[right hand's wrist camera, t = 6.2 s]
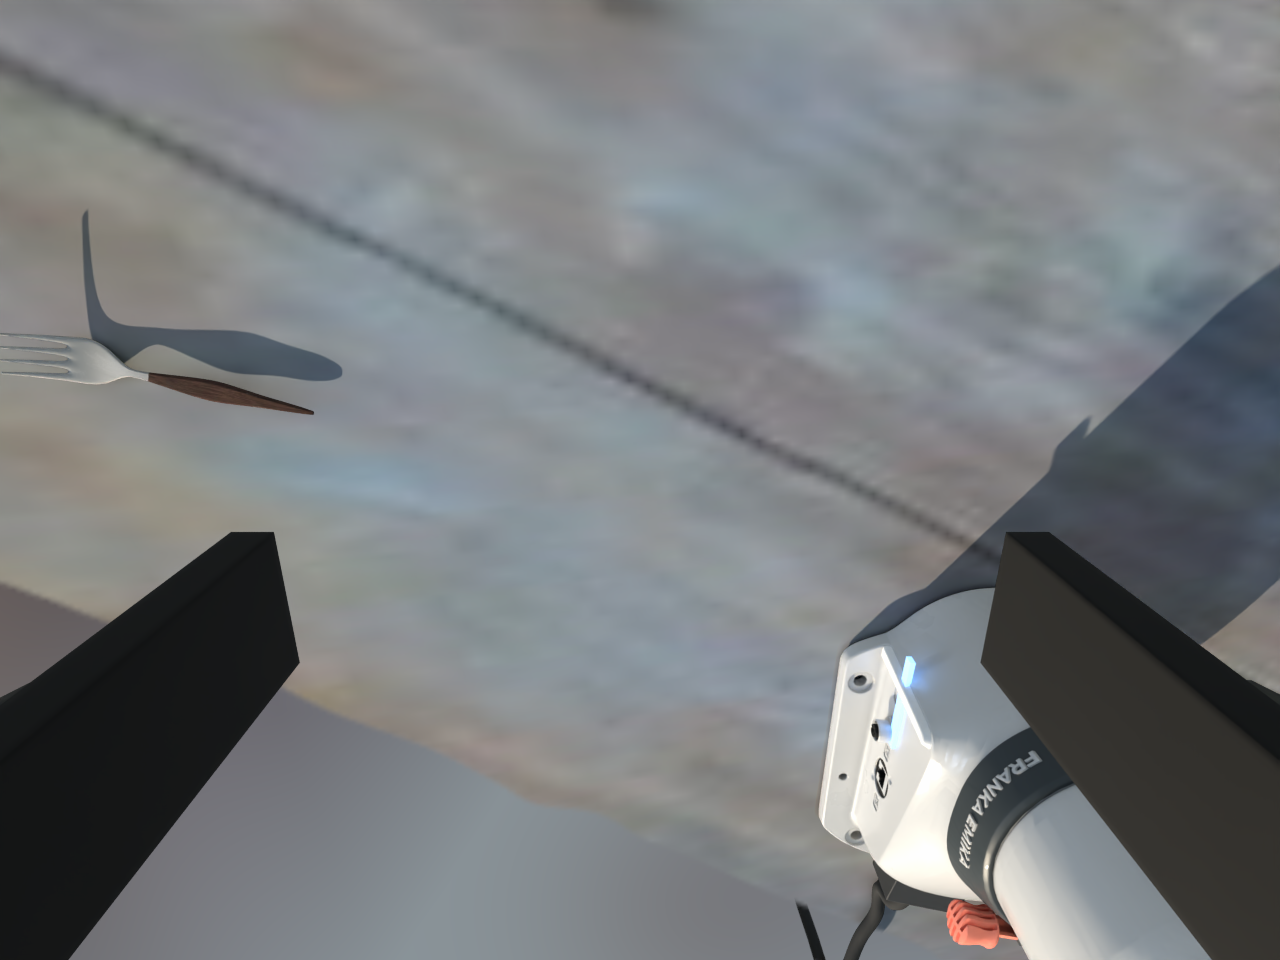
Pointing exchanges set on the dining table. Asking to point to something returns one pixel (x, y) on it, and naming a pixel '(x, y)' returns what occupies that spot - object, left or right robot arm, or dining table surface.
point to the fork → (134, 373)
